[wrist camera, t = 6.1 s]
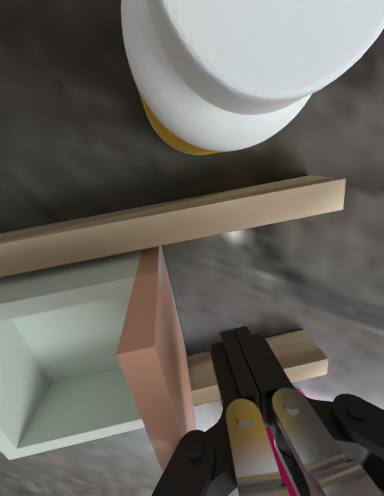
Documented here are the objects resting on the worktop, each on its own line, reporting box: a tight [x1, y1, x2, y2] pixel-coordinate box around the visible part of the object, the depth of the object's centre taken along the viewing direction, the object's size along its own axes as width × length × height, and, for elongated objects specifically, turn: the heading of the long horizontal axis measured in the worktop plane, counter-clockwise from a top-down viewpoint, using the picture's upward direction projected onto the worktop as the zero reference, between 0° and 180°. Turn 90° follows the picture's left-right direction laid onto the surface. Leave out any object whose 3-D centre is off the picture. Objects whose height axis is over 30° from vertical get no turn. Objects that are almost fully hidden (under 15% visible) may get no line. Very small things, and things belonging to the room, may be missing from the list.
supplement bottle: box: [121, 0, 384, 155], centre depth 7 cm, size 5×5×10 cm
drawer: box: [0, 246, 196, 472], centre depth 11 cm, size 10×11×9 cm
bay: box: [0, 175, 346, 452], centre depth 14 cm, size 14×25×3 cm, turn 99°
